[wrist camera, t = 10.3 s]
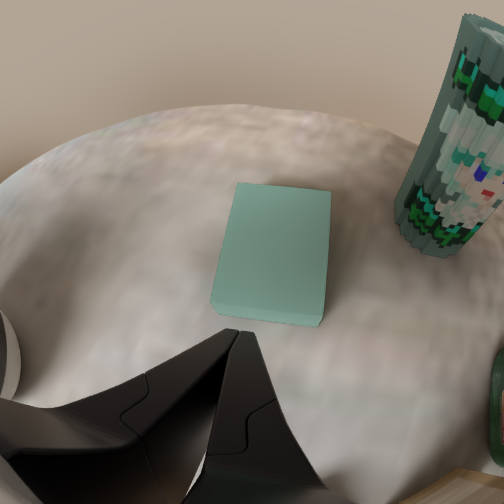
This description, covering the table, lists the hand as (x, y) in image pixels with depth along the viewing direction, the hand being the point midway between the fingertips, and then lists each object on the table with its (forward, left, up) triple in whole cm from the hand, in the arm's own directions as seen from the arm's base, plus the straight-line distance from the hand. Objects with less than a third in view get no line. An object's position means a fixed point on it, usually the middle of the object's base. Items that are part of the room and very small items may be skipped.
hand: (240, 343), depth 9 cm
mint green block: (+1, +3, -8) cm, 8 cm away
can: (+15, +5, -9) cm, 19 cm away
